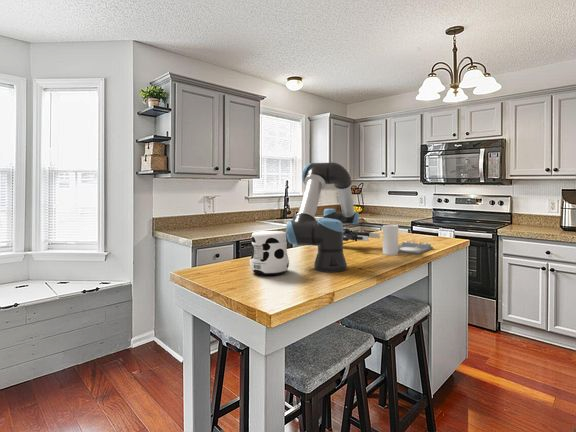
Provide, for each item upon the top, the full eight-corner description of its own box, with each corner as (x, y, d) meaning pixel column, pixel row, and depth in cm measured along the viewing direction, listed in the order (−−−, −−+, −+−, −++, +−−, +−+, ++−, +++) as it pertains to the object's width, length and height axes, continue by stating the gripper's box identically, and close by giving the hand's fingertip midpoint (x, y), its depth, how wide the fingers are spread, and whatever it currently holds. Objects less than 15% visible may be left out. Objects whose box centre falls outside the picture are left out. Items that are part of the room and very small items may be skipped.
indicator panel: (417, 254, 192) (417, 247, 192) (386, 251, 204) (386, 244, 204) (432, 248, 210) (433, 242, 210) (403, 245, 222) (404, 239, 222)
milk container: (288, 267, 166) (287, 230, 165) (289, 277, 149) (289, 235, 148) (251, 268, 166) (250, 230, 164) (249, 278, 148) (247, 236, 147)
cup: (382, 254, 194) (382, 226, 193) (383, 252, 202) (383, 224, 200) (398, 255, 192) (398, 226, 190) (397, 252, 199) (398, 224, 198)
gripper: (353, 238, 226) (383, 241, 212) (331, 243, 208) (362, 246, 194) (353, 226, 226) (383, 228, 212) (330, 230, 207) (363, 233, 193)
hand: (373, 237), depth 203 cm, fingers open, 13 cm apart
